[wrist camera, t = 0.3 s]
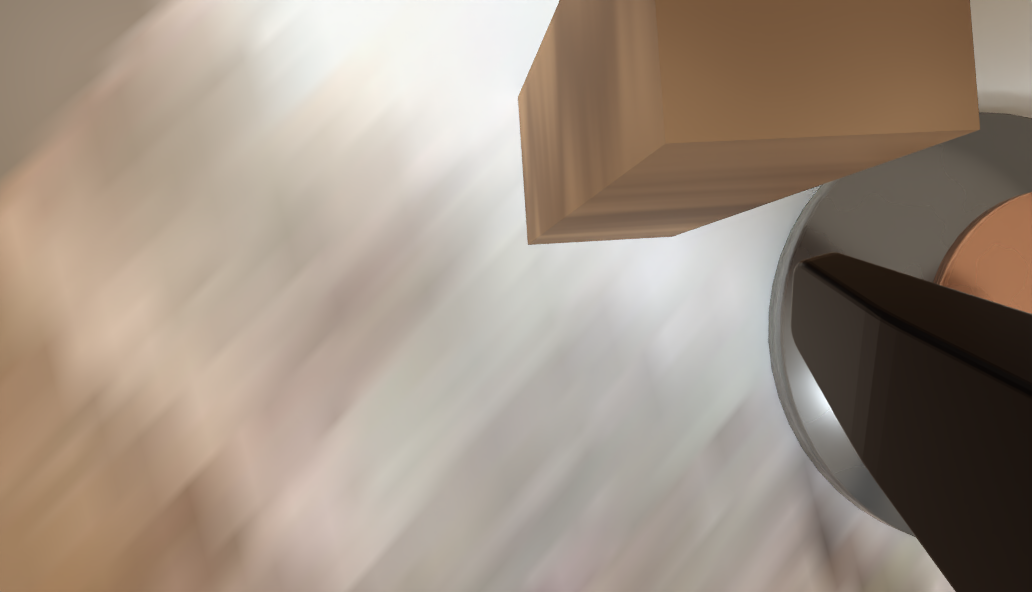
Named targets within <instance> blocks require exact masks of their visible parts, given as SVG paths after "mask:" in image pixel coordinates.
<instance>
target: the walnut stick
mask: <svg viewBox="0 0 1032 592" xmlns="http://www.w3.org/2000/svg"><path fill="white" fill-rule="evenodd" d="M518 104H519V119H520V134H521V149H522V163H523V178H524V193H525V208H526V223H527V238H528V245H532V244H549V243H567V242H584V241H602V240H619V239H637V238H654V237H672V236H675V235H678V234H681V233H684V232H687V231H690V230H692V229H695V228H698V227H701V226H704V225H707V224H710V223H713V222H715V221H718V220H721V219H724V218H727V217H730V216H733V215H736V214H739V213H741V212H744V211H747V210H750V209H753V208H756V207H759V206H762V205H764V204H767V203H770V202H773V201H776V200H779V199H782V198H785V197H787V196H790V195H793V194H796V193H799V192H802V191H805V190H808V189H810V188H813V187H816V186H819V185H822V184H825V183H828V182H831V181H833V180H836V179H839V178H842V177H845V176H848V175H851V174H854V173H857V172H859V171H862V170H865V169H868V168H871V167H874V166H877V165H880V164H882V163H885V162H888V161H891V160H894V159H897V158H900V157H903V156H905V155H908V154H911V153H914V152H917V151H920V150H923V149H926V148H928V147H931V146H934V145H937V144H940V143H943V142H946V141H949V140H952V139H954V138H957V137H960V136H963V135H966V134H969V133H972V132H975V131H977V130H980V121H979V109H978V97H977V84H976V72H975V60H974V47H973V35H972V23H971V10H970V0H560V1H559V4H558V6H557V8H556V10H555V13H554V15H553V17H552V20H551V22H550V24H549V27H548V29H547V31H546V34H545V36H544V38H543V41H542V43H541V45H540V47H539V50H538V52H537V54H536V57H535V59H534V61H533V64H532V66H531V68H530V71H529V73H528V75H527V78H526V80H525V82H524V85H523V87H522V89H521V91H520V94H519V96H518Z"/></svg>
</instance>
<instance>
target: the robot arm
mask: <svg viewBox="0 0 1032 592" xmlns="http://www.w3.org/2000/svg"><path fill="white" fill-rule="evenodd" d="M790 323H791V333H792V337H793V340H794V343H795V345H796V347H797V349H798V351H799V353H800V355H801V356H802V358H803V360H804V362H805V363H806V365H807V367H808V369H809V370H810V372H811V374H812V376H813V377H814V379H815V381H816V383H817V385H818V386H819V388H820V390H821V392H822V393H823V395H824V397H825V399H826V400H827V402H828V404H829V406H830V408H831V409H832V411H833V413H834V415H835V416H836V418H837V420H838V422H839V423H840V425H841V427H842V429H843V431H844V432H845V434H846V436H847V438H848V439H849V441H850V443H851V445H852V446H853V448H854V449H855V451H856V453H857V454H858V456H859V458H860V459H861V461H862V463H863V464H864V465H865V467H866V468H867V470H868V471H869V473H870V474H871V476H872V477H873V479H874V480H875V481H876V483H877V484H878V486H879V487H880V488H881V490H882V491H883V492H884V494H885V495H886V497H887V498H888V499H889V501H890V502H891V503H892V505H893V506H894V508H895V509H896V510H897V512H898V513H899V514H900V516H901V517H902V519H903V520H904V521H905V523H906V524H907V525H908V527H909V528H910V530H911V531H912V532H913V534H914V535H915V536H916V538H917V539H918V541H919V542H920V543H921V545H922V546H923V547H924V549H925V550H926V552H927V553H928V554H929V556H930V557H931V558H932V560H933V561H934V563H935V564H936V565H937V567H938V568H939V569H940V571H941V572H942V574H943V575H944V576H945V578H946V579H947V580H948V582H949V583H950V585H951V586H952V587H953V589H954V590H955V591H956V592H1032V314H1031V313H1027V312H1024V311H1021V310H1018V309H1015V308H1012V307H1008V306H1005V305H1002V304H999V303H996V302H993V301H989V300H986V299H983V298H980V297H977V296H974V295H971V294H967V293H964V292H961V291H958V290H955V289H952V288H948V287H945V286H942V285H939V284H936V283H933V282H929V281H926V280H923V279H920V278H917V277H914V276H910V275H907V274H904V273H901V272H898V271H895V270H891V269H888V268H885V267H882V266H879V265H876V264H873V263H869V262H866V261H863V260H860V259H857V258H854V257H850V256H847V255H844V254H841V253H837V252H831V253H826V254H823V255H819V256H815V257H811V258H808V259H804V260H801V261H800V262H799V263H798V264H797V265H796V266H795V269H794V272H793V282H792V302H791V321H790Z"/></svg>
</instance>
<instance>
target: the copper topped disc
mask: <svg viewBox="0 0 1032 592" xmlns="http://www.w3.org/2000/svg"><path fill="white" fill-rule="evenodd" d="M979 121H980V130H977V131H975V132H972V133H969V134H966V135H963V136H960V137H957V138H954V139H952V140H949V141H946V142H943V143H940V144H937V145H934V146H931V147H928V148H926V149H923V150H920V151H917V152H914V153H911V154H908V155H905V156H903V157H900V158H897V159H894V160H891V161H888V162H885V163H882V164H880V165H877V166H874V167H871V168H868V169H865V170H862V171H859V172H857V173H854V174H851V175H848V176H845V177H842V178H839V179H836V180H833V181H831V182H828V183H825V184H823V185H822V186H821V187H820V188H819V189H818V191H817V192H816V193H815V194H814V196H813V197H812V198H811V200H810V201H809V202H808V204H807V205H806V206H805V208H804V209H803V211H802V213H801V214H800V216H799V218H798V220H797V221H796V223H795V225H794V227H793V228H792V230H791V232H790V234H789V237H788V239H787V241H786V244H785V246H784V249H783V251H782V254H781V256H780V259H779V263H778V266H777V270H776V274H775V277H774V281H773V285H772V293H771V300H770V307H769V349H770V358H771V367H772V372H773V376H774V380H775V384H776V388H777V392H778V396H779V399H780V402H781V404H782V407H783V410H784V412H785V415H786V417H787V420H788V422H789V425H790V426H791V428H792V430H793V432H794V434H795V436H796V438H797V439H798V441H799V443H800V445H801V447H802V449H803V450H804V451H805V453H806V454H807V456H808V457H809V458H810V460H811V461H812V462H813V464H814V465H815V467H816V468H817V469H818V471H819V472H820V473H821V474H822V475H823V476H824V477H825V478H826V479H827V480H828V481H829V482H830V484H831V485H832V486H833V487H834V488H835V489H836V490H837V491H838V492H839V493H841V494H842V495H843V496H844V497H845V498H847V499H848V500H849V501H850V502H852V503H853V504H854V505H855V506H857V507H858V508H859V509H861V510H862V511H864V512H866V513H867V514H869V515H870V516H872V517H874V518H875V519H877V520H879V521H880V522H882V523H884V524H887V525H889V526H891V527H893V528H896V529H898V530H900V531H903V532H905V533H907V534H910V535H912V536H914V537H916V536H915V535H914V534H913V532H912V531H911V530H910V528H909V527H908V525H907V524H906V523H905V521H904V520H903V519H902V517H901V516H900V514H899V513H898V512H897V510H896V509H895V508H894V506H893V505H892V503H891V502H890V501H889V499H888V498H887V497H886V495H885V494H884V492H883V491H882V490H881V488H880V487H879V486H878V484H877V483H876V481H875V480H874V479H873V477H872V476H871V474H870V473H869V471H868V470H867V468H866V467H865V465H864V464H863V463H862V461H861V459H860V458H859V456H858V454H857V453H856V451H855V449H854V448H853V446H852V445H851V443H850V441H849V439H848V438H847V436H846V434H845V432H844V431H843V429H842V427H841V425H840V423H839V422H838V420H837V418H836V416H835V415H834V413H833V411H832V409H831V408H830V406H829V404H828V402H827V400H826V399H825V397H824V395H823V393H822V392H821V390H820V388H819V386H818V385H817V383H816V381H815V379H814V377H813V376H812V374H811V372H810V370H809V369H808V367H807V365H806V363H805V362H804V360H803V358H802V356H801V355H800V353H799V351H798V349H797V347H796V345H795V343H794V340H793V337H792V333H791V323H790V321H791V302H792V282H793V272H794V269H795V266H796V265H797V264H798V263H799V262H800V261H801V260H804V259H808V258H811V257H815V256H819V255H823V254H826V253H831V252H837V253H841V254H844V255H847V256H850V257H854V258H857V259H860V260H863V261H866V262H869V263H873V264H876V265H879V266H882V267H885V268H888V269H891V270H895V271H898V272H901V273H904V274H907V275H910V276H914V277H917V278H920V279H923V280H926V281H929V282H933V283H936V284H939V285H942V286H945V287H948V288H952V289H955V290H958V291H961V292H964V293H967V294H971V295H974V296H977V297H980V298H983V299H986V300H989V301H993V302H996V303H999V304H1002V305H1005V306H1008V307H1012V308H1015V309H1018V310H1021V311H1024V312H1027V313H1031V314H1032V118H1027V117H1021V116H1016V115H1011V114H999V113H979Z"/></svg>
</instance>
